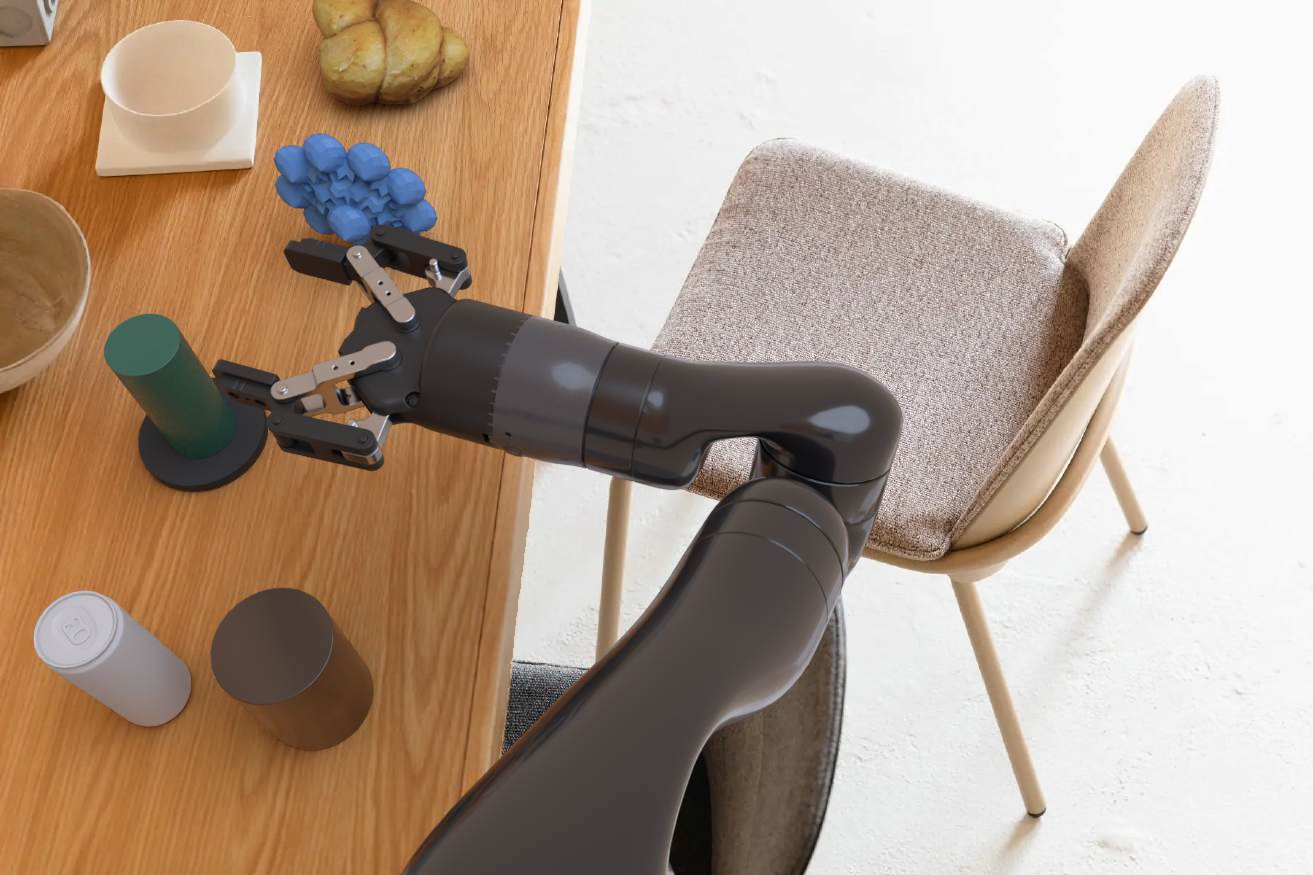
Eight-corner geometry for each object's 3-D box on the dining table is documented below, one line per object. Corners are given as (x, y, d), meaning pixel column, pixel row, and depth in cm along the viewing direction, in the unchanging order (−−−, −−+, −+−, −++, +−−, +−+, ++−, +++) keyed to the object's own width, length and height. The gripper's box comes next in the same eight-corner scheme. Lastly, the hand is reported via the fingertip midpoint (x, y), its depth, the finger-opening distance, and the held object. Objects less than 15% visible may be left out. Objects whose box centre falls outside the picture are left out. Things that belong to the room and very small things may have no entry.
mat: (177, 515, 82) (171, 509, 81) (122, 427, 85) (116, 420, 84) (290, 446, 84) (286, 439, 83) (232, 363, 88) (228, 356, 87)
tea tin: (187, 471, 82) (122, 389, 73) (158, 424, 84) (91, 338, 75) (248, 434, 84) (193, 349, 74) (218, 389, 86) (160, 301, 76)
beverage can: (169, 642, 77) (89, 571, 67) (210, 692, 76) (135, 628, 65) (106, 692, 76) (14, 628, 65) (146, 745, 74) (58, 688, 63)
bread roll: (478, 43, 104) (464, -33, 97) (464, 123, 99) (447, 50, 92) (336, 40, 105) (311, -36, 98) (315, 120, 100) (287, 46, 93)
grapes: (289, 286, 91) (239, 182, 81) (307, 218, 95) (261, 110, 84) (436, 292, 91) (405, 188, 80) (449, 223, 94) (420, 115, 84)
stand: (297, 773, 73) (245, 730, 64) (245, 686, 76) (188, 633, 67) (394, 705, 75) (356, 654, 66) (339, 623, 78) (296, 564, 69)
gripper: (563, 241, 63) (292, 174, 66) (464, 462, 57) (167, 379, 59) (573, 321, 70) (326, 258, 72) (485, 528, 63) (217, 450, 66)
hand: (255, 312), depth 66 cm, fingers open, 8 cm apart
